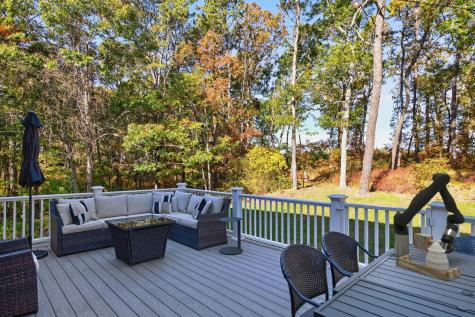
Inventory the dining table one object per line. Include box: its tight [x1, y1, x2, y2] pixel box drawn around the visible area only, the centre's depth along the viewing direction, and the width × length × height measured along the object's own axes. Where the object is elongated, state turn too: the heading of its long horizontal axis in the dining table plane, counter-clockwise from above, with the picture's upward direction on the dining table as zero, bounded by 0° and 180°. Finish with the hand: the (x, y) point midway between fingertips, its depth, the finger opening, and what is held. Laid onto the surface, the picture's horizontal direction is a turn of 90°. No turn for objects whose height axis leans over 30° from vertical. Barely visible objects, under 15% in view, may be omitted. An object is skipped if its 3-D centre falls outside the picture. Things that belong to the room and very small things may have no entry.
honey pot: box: [425, 239, 450, 271], centre depth 187 cm, size 13×13×18 cm
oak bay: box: [395, 254, 461, 282], centre depth 181 cm, size 16×31×5 cm, turn 29°
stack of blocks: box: [413, 232, 437, 252], centre depth 224 cm, size 21×6×12 cm, turn 17°
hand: (441, 256), depth 190 cm, fingers closed
